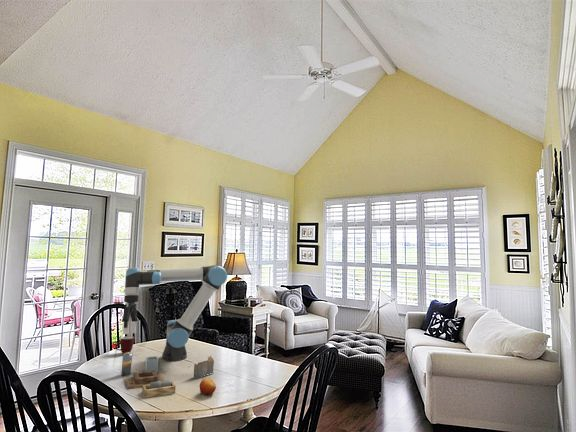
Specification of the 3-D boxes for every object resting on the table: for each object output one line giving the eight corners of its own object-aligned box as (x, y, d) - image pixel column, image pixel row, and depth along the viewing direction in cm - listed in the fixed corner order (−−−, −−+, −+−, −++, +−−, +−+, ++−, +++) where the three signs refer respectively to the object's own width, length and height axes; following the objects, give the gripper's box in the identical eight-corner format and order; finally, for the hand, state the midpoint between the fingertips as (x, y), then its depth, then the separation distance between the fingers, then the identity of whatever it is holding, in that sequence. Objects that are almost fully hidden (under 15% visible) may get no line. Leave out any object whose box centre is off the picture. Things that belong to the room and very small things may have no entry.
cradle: (160, 374, 193) (161, 368, 194) (165, 383, 181) (166, 376, 182) (124, 379, 185) (125, 372, 185) (127, 389, 173) (127, 381, 173)
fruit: (196, 387, 175) (206, 373, 176) (210, 396, 175) (219, 381, 176) (193, 393, 167) (203, 379, 168) (207, 403, 167) (217, 388, 168)
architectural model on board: (209, 373, 201) (210, 355, 202) (213, 374, 199) (214, 356, 200) (192, 378, 192) (194, 359, 193) (196, 379, 190) (197, 360, 191)
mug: (117, 356, 221) (118, 340, 222) (113, 353, 227) (114, 337, 228) (134, 354, 228) (136, 338, 229) (130, 351, 234) (131, 335, 235)
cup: (155, 368, 203) (156, 356, 203) (157, 372, 197) (158, 359, 198) (144, 370, 200) (145, 357, 200) (146, 373, 194) (147, 360, 195)
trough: (172, 387, 177) (172, 377, 177) (175, 393, 170) (175, 381, 171) (142, 392, 170) (143, 380, 170) (144, 397, 164) (144, 386, 164)
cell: (130, 372, 195) (132, 351, 196) (131, 375, 191) (132, 353, 192) (120, 373, 192) (122, 351, 194) (121, 376, 188) (123, 354, 189)
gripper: (131, 296, 217) (128, 333, 211) (117, 294, 193) (114, 335, 187) (143, 296, 218) (142, 332, 212) (132, 293, 194) (129, 334, 188)
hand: (129, 333), depth 199 cm, fingers open, 13 cm apart
